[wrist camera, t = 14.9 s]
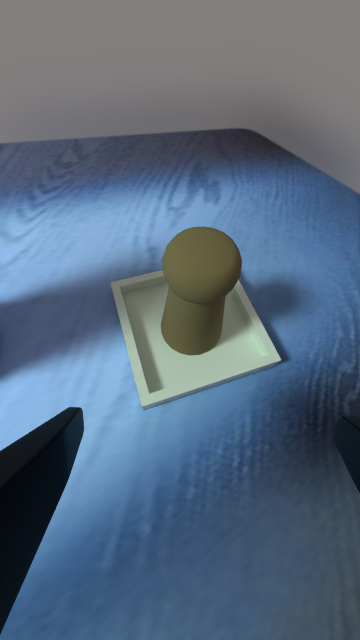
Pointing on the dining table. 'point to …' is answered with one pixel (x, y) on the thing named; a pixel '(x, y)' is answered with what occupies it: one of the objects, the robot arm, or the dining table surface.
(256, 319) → the tray
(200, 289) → the cork
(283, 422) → the dining table surface
